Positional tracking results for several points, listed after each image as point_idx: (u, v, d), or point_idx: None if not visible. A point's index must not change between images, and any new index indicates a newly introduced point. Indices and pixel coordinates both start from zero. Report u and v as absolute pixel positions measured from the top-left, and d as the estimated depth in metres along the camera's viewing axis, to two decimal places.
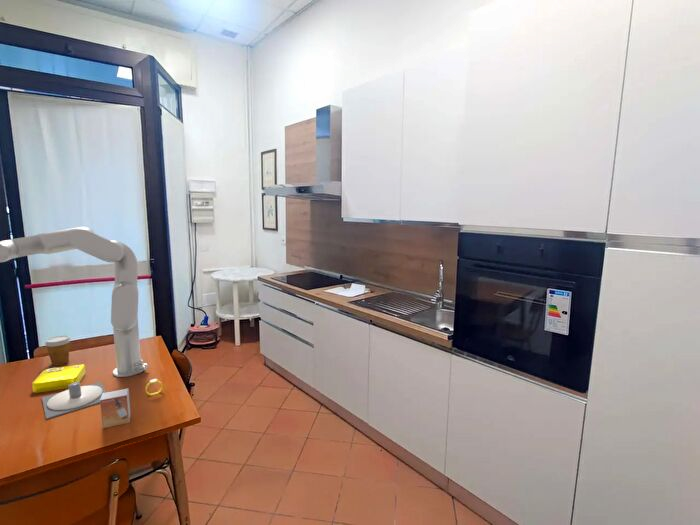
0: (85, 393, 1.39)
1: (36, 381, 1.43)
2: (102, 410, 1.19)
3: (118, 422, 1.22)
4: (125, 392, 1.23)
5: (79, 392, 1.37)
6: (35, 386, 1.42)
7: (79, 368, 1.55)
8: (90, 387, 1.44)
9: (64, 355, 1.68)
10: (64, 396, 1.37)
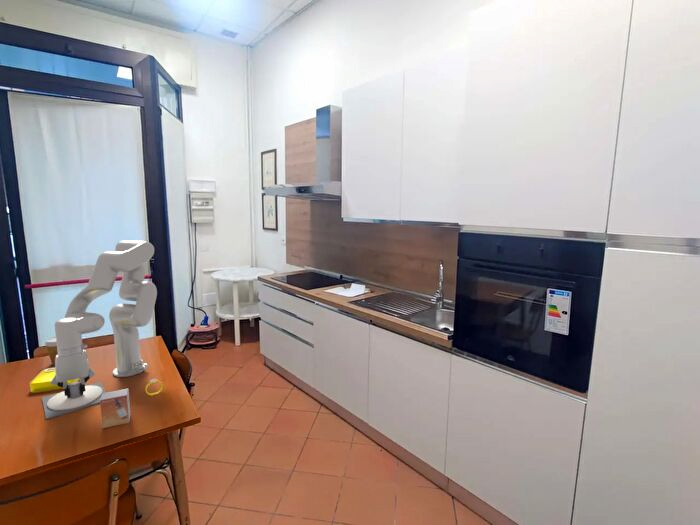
0: (85, 393, 1.39)
1: (34, 381, 1.43)
2: (102, 410, 1.19)
3: (118, 422, 1.22)
4: (125, 392, 1.23)
5: (79, 392, 1.37)
6: (33, 386, 1.42)
7: None
8: (90, 387, 1.44)
9: None
10: (64, 395, 1.37)
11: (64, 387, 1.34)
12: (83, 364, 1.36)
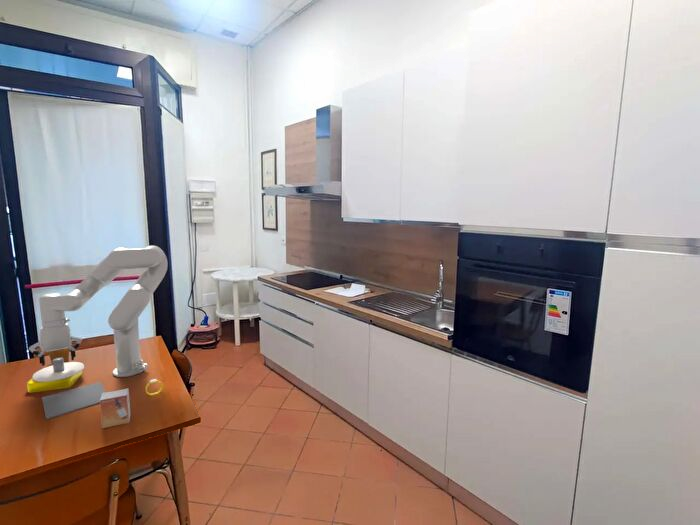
0: (68, 368, 1.52)
1: (31, 381, 1.43)
2: (102, 410, 1.19)
3: (118, 422, 1.22)
4: (125, 392, 1.23)
5: (62, 367, 1.50)
6: (30, 386, 1.42)
7: None
8: (73, 363, 1.57)
9: (64, 355, 1.68)
10: (48, 370, 1.51)
11: (39, 355, 1.45)
12: (65, 336, 1.48)
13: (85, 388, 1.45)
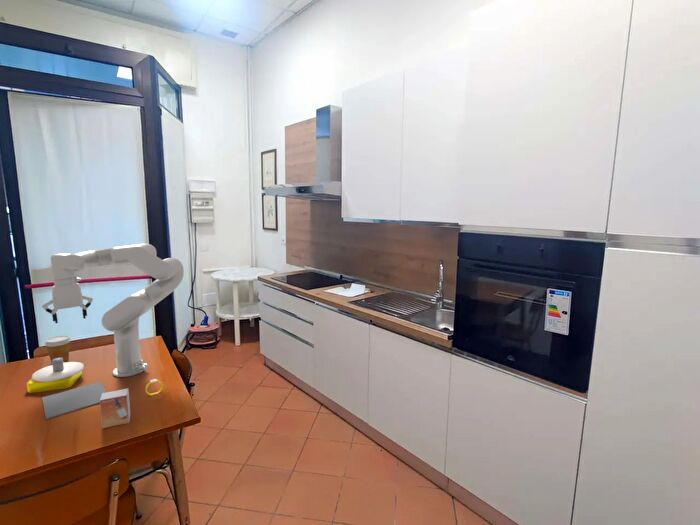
0: (67, 368, 1.53)
1: (31, 381, 1.43)
2: (102, 410, 1.19)
3: (118, 422, 1.22)
4: (125, 392, 1.23)
5: (61, 366, 1.50)
6: (30, 386, 1.42)
7: None
8: (73, 363, 1.57)
9: (64, 355, 1.68)
10: (48, 370, 1.51)
11: (52, 313, 1.49)
12: (77, 294, 1.53)
13: (85, 388, 1.45)
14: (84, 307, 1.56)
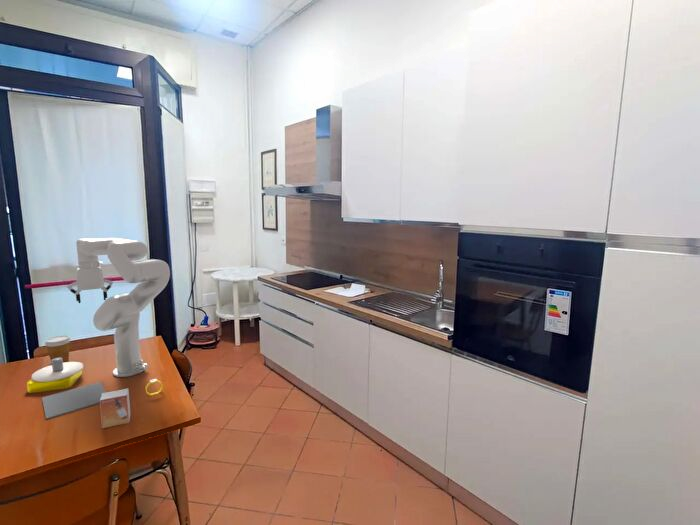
0: (67, 368, 1.53)
1: (31, 381, 1.43)
2: (102, 410, 1.19)
3: (118, 422, 1.22)
4: (125, 392, 1.23)
5: (61, 366, 1.50)
6: (30, 386, 1.42)
7: None
8: (72, 363, 1.57)
9: (64, 355, 1.68)
10: (47, 370, 1.51)
11: (76, 293, 1.61)
12: (99, 277, 1.65)
13: (85, 388, 1.45)
14: (105, 289, 1.68)
